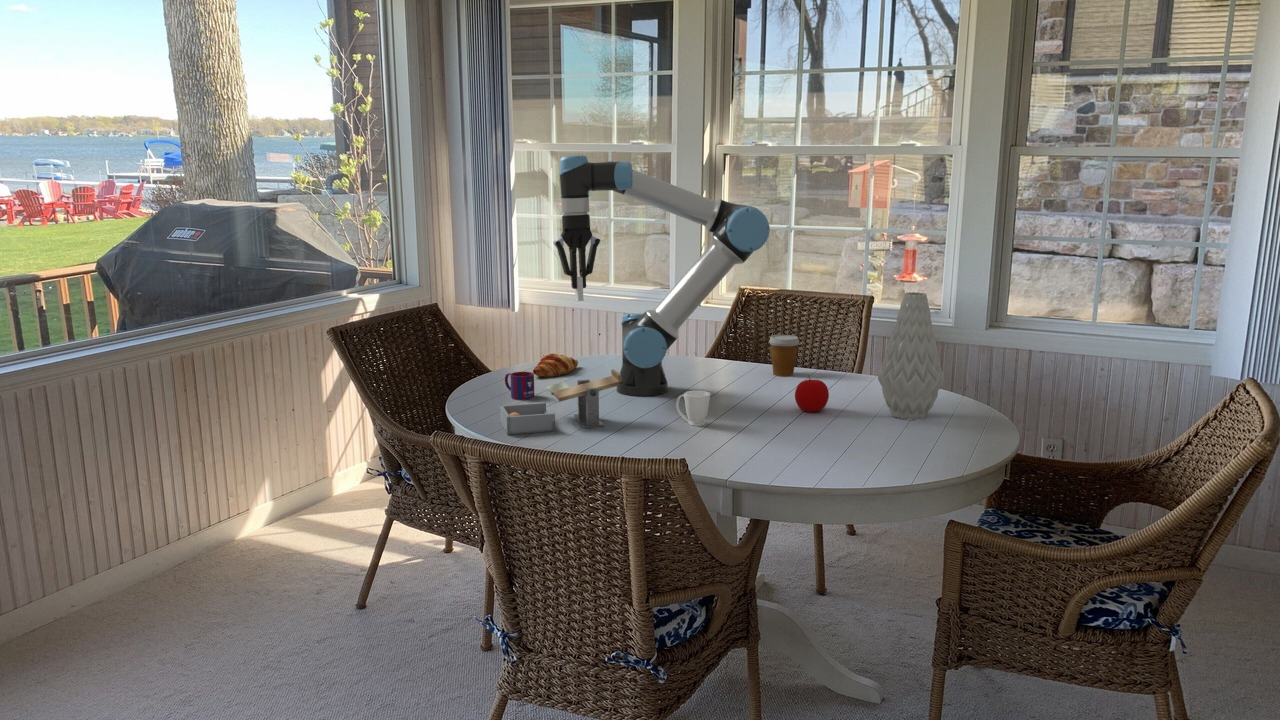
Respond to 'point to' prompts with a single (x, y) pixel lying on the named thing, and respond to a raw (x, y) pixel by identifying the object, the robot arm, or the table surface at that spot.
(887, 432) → the table surface
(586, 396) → the fulcrum
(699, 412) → the cup
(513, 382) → the cup
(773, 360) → the disposable coffee cup
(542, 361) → the croissant
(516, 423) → the tray
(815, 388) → the fruit
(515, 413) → the ball
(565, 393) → the lever
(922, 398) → the vase
